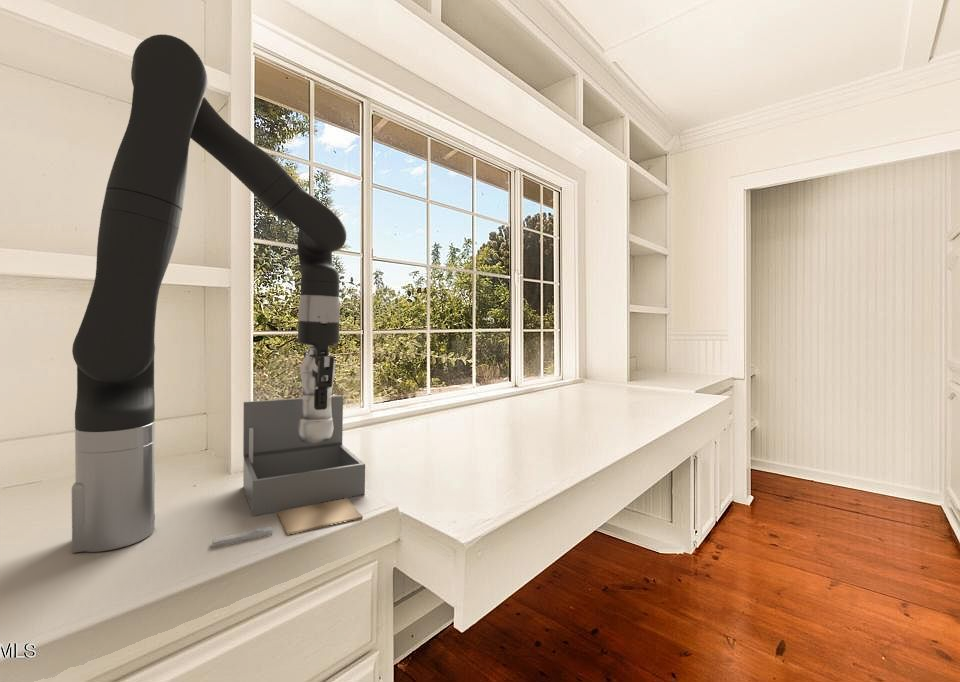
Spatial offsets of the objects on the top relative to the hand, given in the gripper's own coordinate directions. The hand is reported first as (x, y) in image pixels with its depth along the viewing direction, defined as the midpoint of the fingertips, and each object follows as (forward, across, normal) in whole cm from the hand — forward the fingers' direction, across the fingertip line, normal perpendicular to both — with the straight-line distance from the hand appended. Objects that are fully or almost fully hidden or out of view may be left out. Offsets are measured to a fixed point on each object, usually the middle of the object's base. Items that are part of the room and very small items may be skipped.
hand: (316, 406), depth 86 cm
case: (+17, -2, -2) cm, 17 cm away
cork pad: (+17, +12, -2) cm, 21 cm away
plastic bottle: (+7, 0, 0) cm, 7 cm away
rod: (+18, +14, -14) cm, 26 cm away
